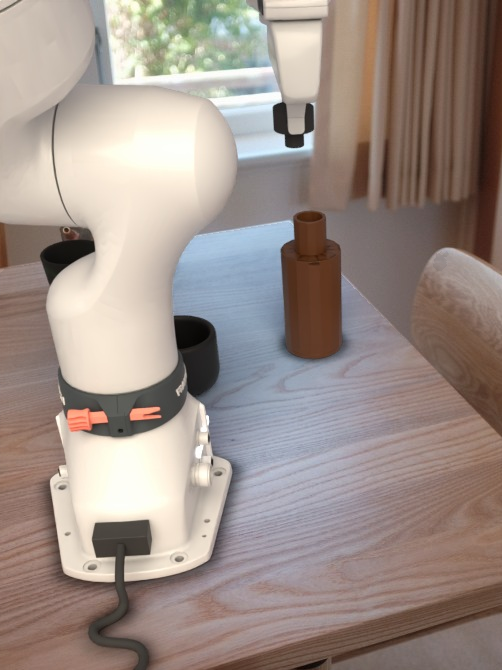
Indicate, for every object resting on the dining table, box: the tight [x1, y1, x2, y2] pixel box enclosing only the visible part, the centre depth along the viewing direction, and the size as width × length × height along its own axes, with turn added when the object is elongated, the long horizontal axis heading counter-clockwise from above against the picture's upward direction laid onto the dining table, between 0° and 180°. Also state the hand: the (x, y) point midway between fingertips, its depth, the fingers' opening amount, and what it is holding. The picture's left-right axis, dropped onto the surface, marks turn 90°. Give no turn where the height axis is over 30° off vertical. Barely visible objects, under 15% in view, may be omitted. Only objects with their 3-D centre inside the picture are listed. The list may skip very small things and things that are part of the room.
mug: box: [174, 314, 221, 397], centre depth 107 cm, size 12×9×7 cm
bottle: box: [279, 210, 343, 360], centre depth 112 cm, size 7×7×17 cm
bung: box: [272, 101, 315, 149], centre depth 102 cm, size 5×5×4 cm
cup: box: [39, 239, 95, 287], centre depth 115 cm, size 8×8×12 cm
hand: (293, 124), depth 102 cm, fingers closed on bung, 4 cm apart
